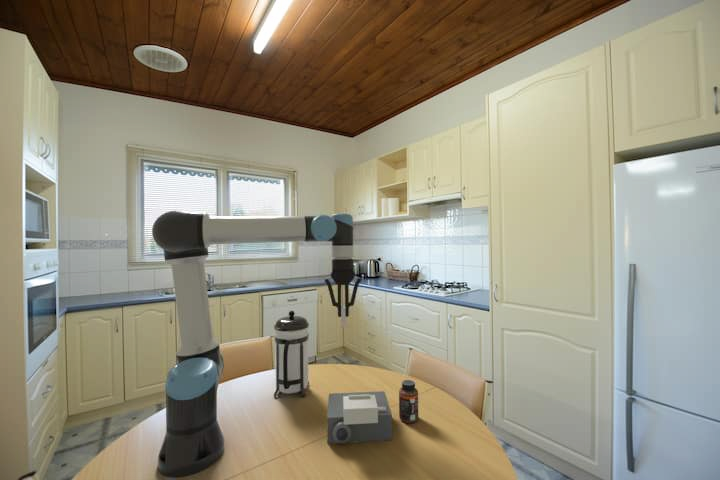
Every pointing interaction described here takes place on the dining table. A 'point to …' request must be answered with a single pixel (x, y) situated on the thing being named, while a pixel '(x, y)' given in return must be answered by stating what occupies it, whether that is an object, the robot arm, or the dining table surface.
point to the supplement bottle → (408, 402)
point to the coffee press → (291, 354)
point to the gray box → (358, 431)
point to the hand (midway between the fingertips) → (343, 326)
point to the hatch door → (360, 409)
